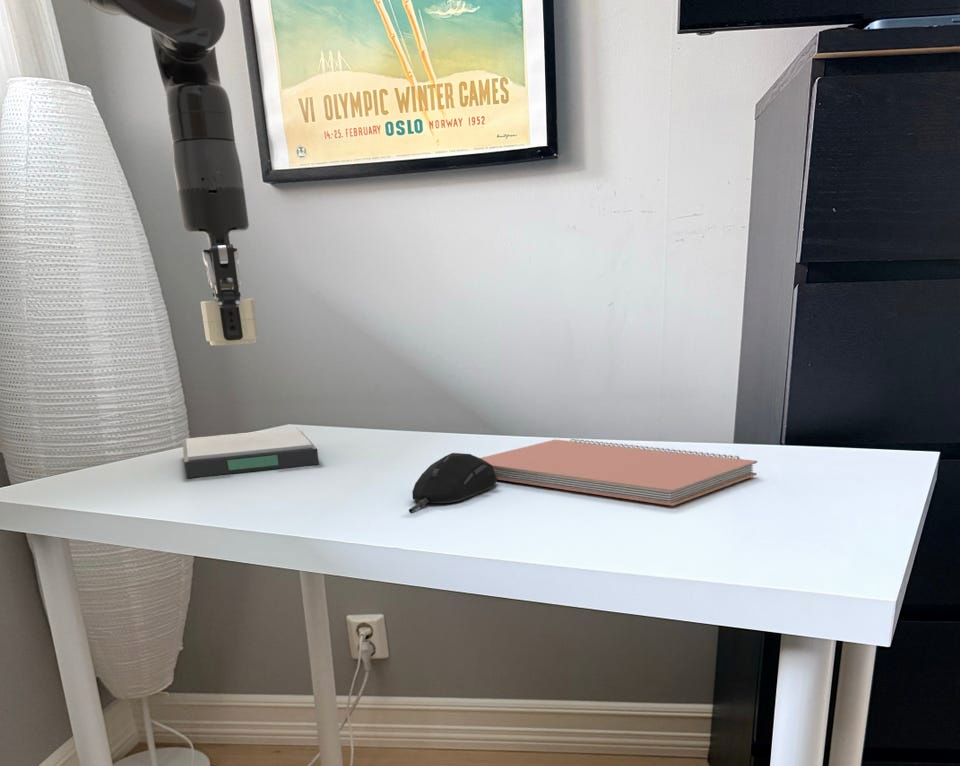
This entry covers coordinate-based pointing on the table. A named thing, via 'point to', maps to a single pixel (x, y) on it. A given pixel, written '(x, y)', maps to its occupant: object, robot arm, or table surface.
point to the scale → (248, 452)
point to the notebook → (620, 470)
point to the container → (215, 324)
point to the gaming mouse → (453, 480)
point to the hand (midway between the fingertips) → (232, 337)
